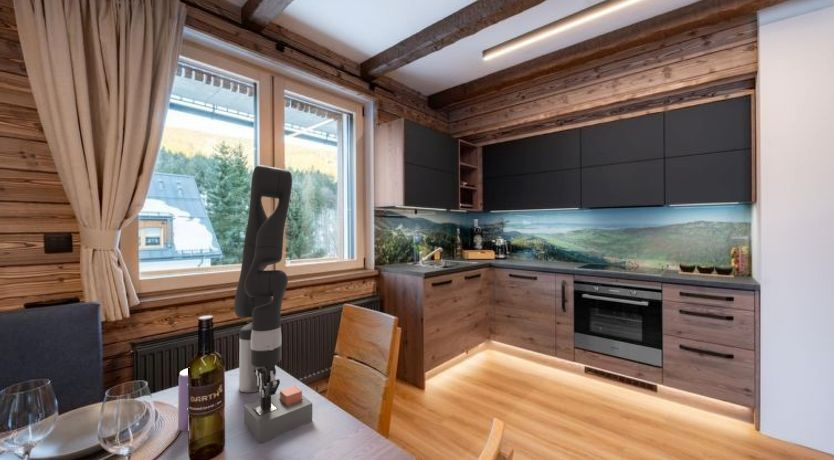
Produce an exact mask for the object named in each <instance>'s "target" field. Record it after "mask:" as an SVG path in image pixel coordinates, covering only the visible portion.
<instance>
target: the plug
mask: <svg viewBox="0 0 834 460" xmlns="http://www.w3.org/2000/svg"><path fill="white" fill-rule="evenodd" d="M275 410H277V408H276V407H275V406H274V405H273V404H272V403H271V408H270V409H267V410H265V411H263V410H262V409H261V406H260V407H257V408H254V411H255V412H256V413H257V415H258V416H261V415H264V414H267V413H269V412H272V411H275Z"/></svg>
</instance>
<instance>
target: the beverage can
mask: <svg viewBox="0 0 834 460" xmlns="http://www.w3.org/2000/svg"><path fill="white" fill-rule="evenodd" d="M188 368H189V367H188ZM188 368H185V369H183V370H181V371H180V372H179V376H178V399H177V400H178V402H177V403H178V404H177V405H178V406H177V407H178V410H177V411H178V412H177V414H178V416H177V417H178V419H177V420H178V421H177V423H178V425H177V426H178V427H177V428H178V430H179V431H180V430H181V432H185V433H186V432H189V431H188V410H187V408H188V386H187V383H188Z"/></svg>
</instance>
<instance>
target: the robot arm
mask: <svg viewBox="0 0 834 460" xmlns="http://www.w3.org/2000/svg"><path fill="white" fill-rule="evenodd" d="M292 189H293V175H292V172H290V170H287V169H283V168H277V167H272V166H268V165H262V164H258V165H256V166H255V167H254V169H253V171H252V177H251V186H250V199H249V212H248V219H247V225H246V231H245V235H244V241H243V243H244V244H243V248H242V250H243V251H242V261H241V268H240V273H239V279H238V282H237V288H236V291H235V296H234V305H233V306H234V307H233V308H234V313H235V316H236V317H237V318H240V319H242V318H243V319H245V318H251V322H249V323H247V324H246V325H244V326H243V327H241V328H240V329H239V356H238V357H239V358H238V359H239V360H238V364H239V365H238V366H239V367H238V368H239V369H238V371H239V375H238V376H239V377H238V390H239V391H240V392H242V393H255V392H259V396H260V400H261V409H262V410H263V411H265V410H267V409H270V408H271V396H273V395H276V393H277V391H278V389H279V386H280V383H281V380H280V379H279V378H278V379H276V376H277V368H276V365H277V364H278V363H280V361H281V360H282V332H281V331H282V330H281V329H282V328H281V312H282V311H281V310H282V303H283V300H284V296H285V294H286V290H287V288H288V287H287V286H288V280H289V279H288V276H287V274H286V272H285V271H284V270H278V269H274V270H273V269H272V270H268V269H267V270H265V269H266V268H267V267H268V266H270V265H275V264H278V263H280V262H281V261H282V258H283V250H284V249H283V248H284V233H285V228H286V227H285V226H286V221H287V217H288V211H289V207H290V200H291V195H292ZM263 197H265V198H271V199H278V203H277V205H276V207H275V208H274V210H273V211H272V213H271V214H270V215H269V216H268V217H267V214H266V212H265V208H264V205H263V202H262V198H263Z"/></svg>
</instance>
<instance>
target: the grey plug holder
mask: <svg viewBox="0 0 834 460" xmlns="http://www.w3.org/2000/svg"><path fill="white" fill-rule="evenodd" d="M271 403H272V404H273V405H274V406H275V407H276V408H277V410H275V411H272V412H269V413H267V414H264V415H261V416H258V415H257V413H256V412H255V411H254V408H257V407H260V406H261V399H258V400H255V401H252V402H250V403H247V404H244V405H243V406H244V407H243V424H244V425H245V426H246V428H247V429H248V431H249V432H250V433H251V434H252V436H253V438H255V440H256V441H257V442H258V443H259V444H263V443H265V442H267V441H270V440H272V439H274V438H278V436H281V435H284V434H286V433H288V432H290V431H293V430H295V429H297V428H300V427H302V426H305V425H306V424H308V423H311V422H313V402H312V401H310V400H309V399H308V398H307V397H305V396H304V395H303V394H302V400H301V401H299V402H296V403H293V404H291V405H288V406H285V405H284V404H283V403H282V402H281V401H280V392H279V393H277V394H276V393H275V394H274V395H271Z"/></svg>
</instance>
